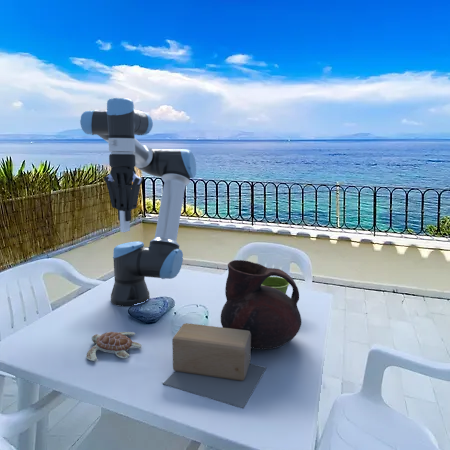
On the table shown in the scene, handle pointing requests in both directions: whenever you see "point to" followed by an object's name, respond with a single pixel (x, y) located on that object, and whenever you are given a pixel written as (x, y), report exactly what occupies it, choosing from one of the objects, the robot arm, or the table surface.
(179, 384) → the mat
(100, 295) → the table surface
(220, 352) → the wooden block
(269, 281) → the plant pot
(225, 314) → the jug
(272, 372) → the table surface
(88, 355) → the decorative turtle
